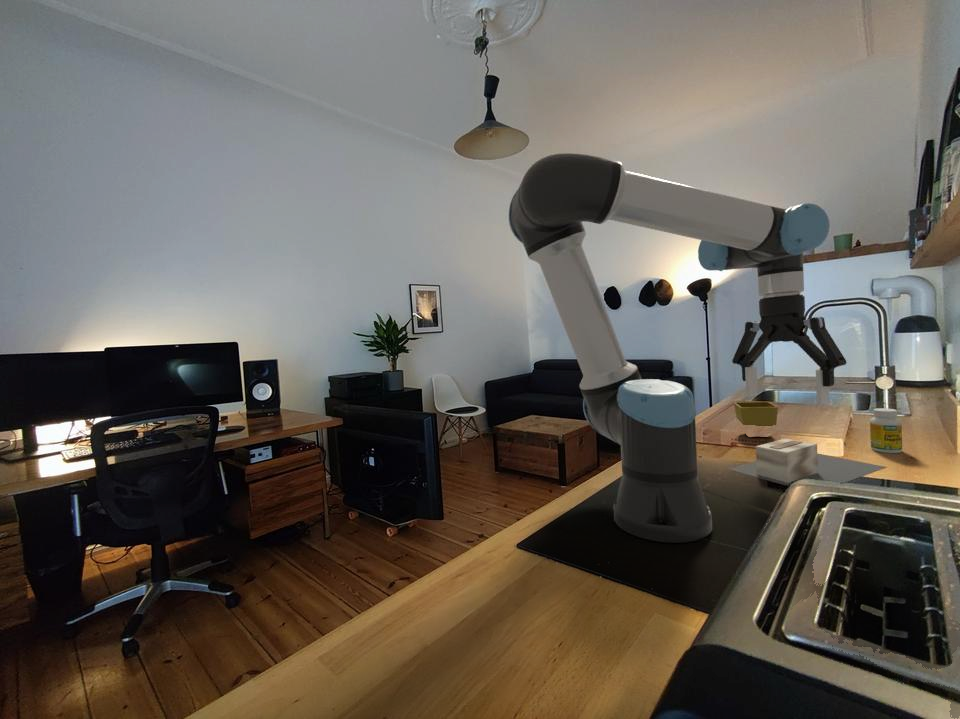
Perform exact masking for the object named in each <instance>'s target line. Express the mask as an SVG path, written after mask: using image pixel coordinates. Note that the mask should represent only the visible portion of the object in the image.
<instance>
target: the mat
mask: <svg viewBox="0 0 960 719" xmlns="http://www.w3.org/2000/svg"><path fill="white" fill-rule="evenodd" d="M817 459H818V473H816V474H813V475H810V476H807V477H808V478H811V479H821V480H830V481H837V482H843V483H842V484H845V483H847V482H850V481H852V480H857V479H858V478H862V477H864V476H866V475H870V474H873V473H875V472H877V471H880V470H883V469H886V468H887V466H885V465H884V466H883V465H878V464H874V463H868V462H862V461H858V460H853V459H848V458H844V457H838V456H832V455H827V454H822V453H819V452H817ZM727 470H729V471H732V472H735V473H738V474H743V475H745V476H750V477H754V478H758V479H762V480H765V481H769V482H772V483H776V484H780V485H783V486H786V485H787V487H789V486H788V485H789V484H791V483H792V482H794V481H792V482H789V483H787V482H783V481H779V480H776V479H772V478H768V477H764V476H761V475H757V462H756V460H754V461H751V462H748V463H744V464H740V465H737V466H733V467H730V468H727ZM801 479H802V478H801ZM798 480H799V479H798ZM795 481H796V480H795Z"/></svg>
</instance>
